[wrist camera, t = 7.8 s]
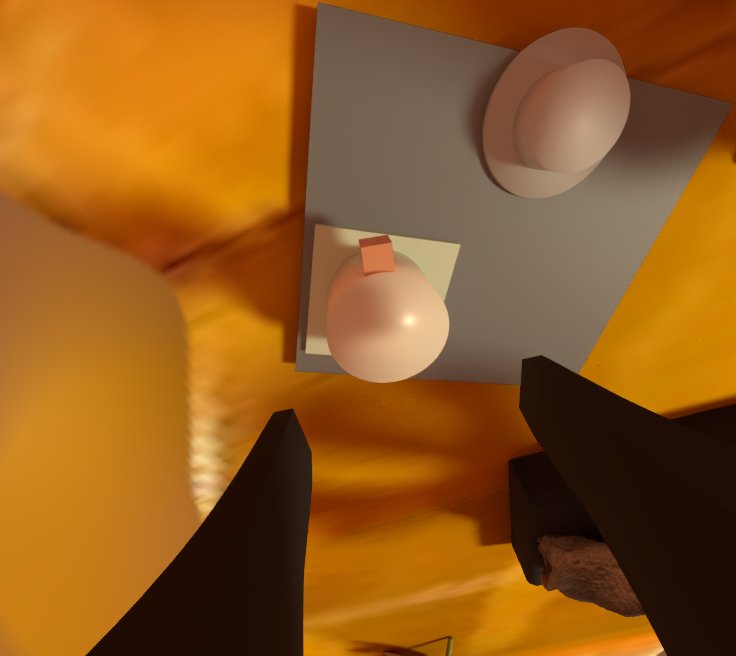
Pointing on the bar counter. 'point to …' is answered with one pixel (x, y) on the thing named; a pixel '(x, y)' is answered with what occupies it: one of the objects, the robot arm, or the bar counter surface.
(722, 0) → the bar counter surface
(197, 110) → the bar counter surface
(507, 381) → the board
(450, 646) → the water lily
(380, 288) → the domed cylinder with nub
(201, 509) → the bar counter surface
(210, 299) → the bar counter surface
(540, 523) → the driftwood sculpture
